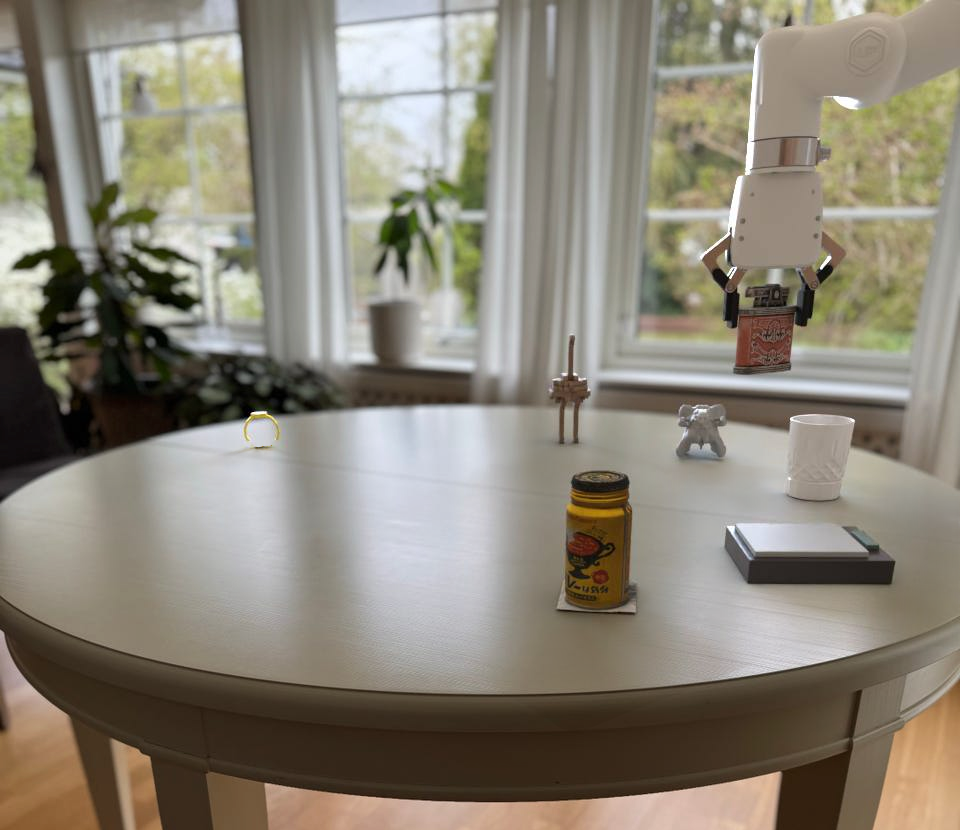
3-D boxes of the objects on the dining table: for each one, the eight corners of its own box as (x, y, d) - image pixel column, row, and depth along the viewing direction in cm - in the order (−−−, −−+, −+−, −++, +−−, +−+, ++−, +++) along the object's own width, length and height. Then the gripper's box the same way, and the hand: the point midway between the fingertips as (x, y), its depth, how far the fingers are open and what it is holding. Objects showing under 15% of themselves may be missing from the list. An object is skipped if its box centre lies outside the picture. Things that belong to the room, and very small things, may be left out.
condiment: (556, 611, 82) (558, 483, 77) (564, 580, 90) (566, 462, 85) (635, 614, 81) (643, 485, 76) (636, 583, 88) (643, 464, 84)
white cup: (837, 505, 114) (849, 426, 110) (775, 498, 118) (784, 422, 114) (848, 491, 120) (859, 416, 116) (788, 485, 124) (797, 412, 120)
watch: (281, 444, 157) (277, 410, 155) (281, 447, 155) (277, 412, 152) (246, 446, 156) (242, 412, 154) (246, 449, 154) (241, 414, 151)
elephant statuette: (681, 462, 138) (684, 412, 135) (658, 447, 149) (661, 400, 146) (738, 460, 139) (743, 410, 136) (711, 445, 150) (715, 399, 147)
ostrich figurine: (589, 445, 152) (593, 335, 144) (550, 446, 152) (552, 335, 144) (578, 427, 167) (580, 327, 160) (542, 428, 167) (543, 327, 160)
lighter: (778, 368, 111) (786, 282, 107) (797, 370, 108) (806, 282, 104) (726, 373, 108) (733, 285, 104) (745, 375, 105) (752, 285, 101)
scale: (852, 546, 98) (856, 520, 97) (891, 584, 87) (896, 555, 86) (724, 546, 99) (726, 520, 98) (747, 583, 88) (750, 554, 87)
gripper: (850, 160, 102) (831, 322, 109) (697, 166, 103) (688, 326, 110) (872, 153, 95) (850, 327, 102) (707, 160, 96) (697, 331, 103)
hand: (766, 325), depth 106 cm, fingers closed on lighter, 7 cm apart
